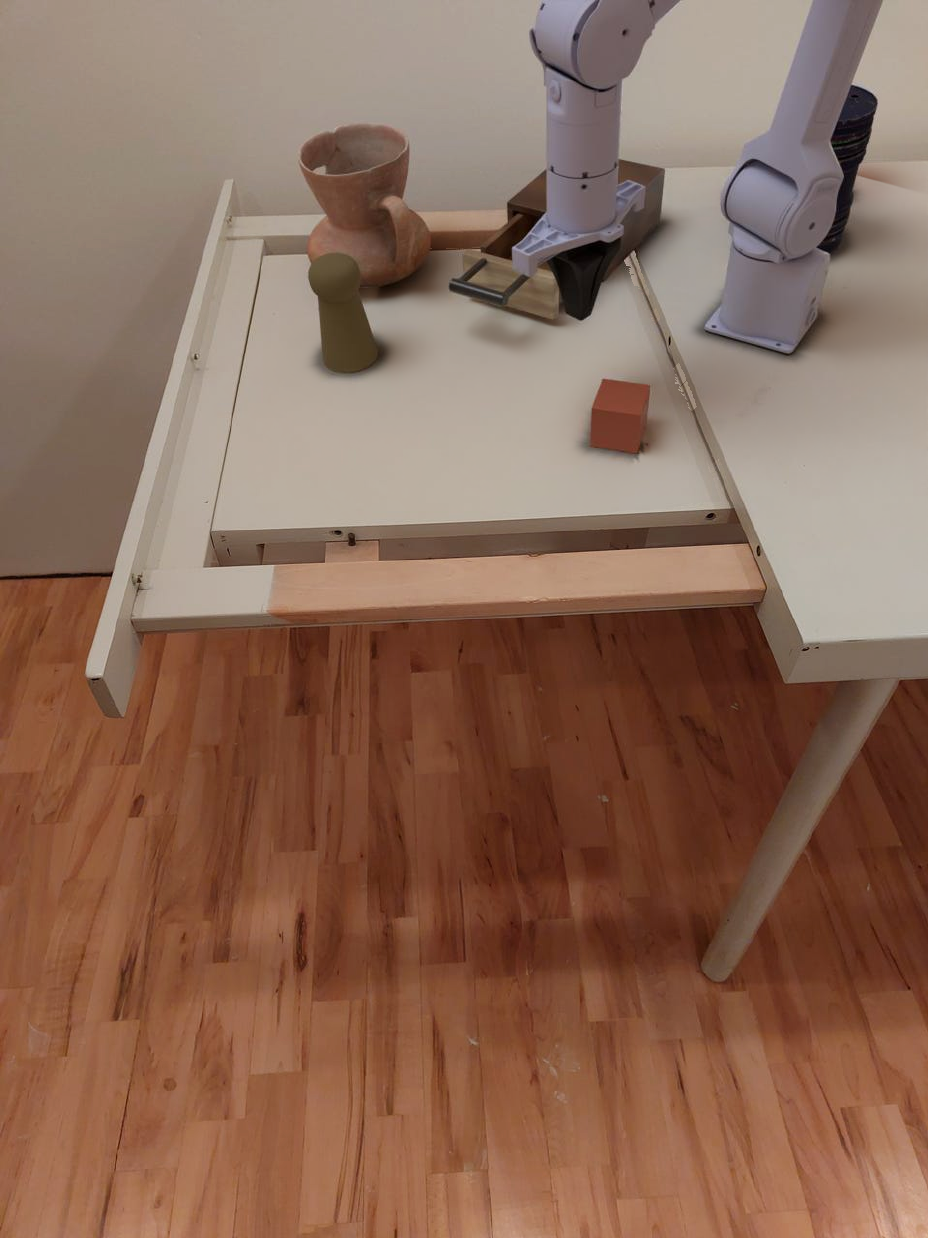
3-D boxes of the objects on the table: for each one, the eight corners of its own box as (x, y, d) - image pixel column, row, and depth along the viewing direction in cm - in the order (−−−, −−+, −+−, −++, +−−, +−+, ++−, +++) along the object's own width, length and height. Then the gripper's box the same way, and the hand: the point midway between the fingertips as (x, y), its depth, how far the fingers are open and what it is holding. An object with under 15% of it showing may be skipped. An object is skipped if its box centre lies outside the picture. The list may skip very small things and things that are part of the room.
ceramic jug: (288, 260, 110) (259, 139, 99) (390, 221, 114) (374, 101, 103) (357, 326, 100) (333, 200, 89) (466, 281, 104) (457, 155, 93)
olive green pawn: (370, 374, 94) (352, 278, 86) (315, 370, 95) (292, 275, 87) (384, 340, 98) (369, 244, 89) (331, 337, 99) (311, 242, 90)
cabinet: (603, 282, 102) (606, 226, 97) (508, 256, 107) (506, 201, 102) (660, 223, 109) (665, 168, 104) (569, 201, 114) (570, 148, 109)
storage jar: (774, 267, 101) (803, 127, 90) (740, 225, 107) (763, 90, 96) (858, 251, 102) (897, 111, 90) (819, 211, 108) (851, 75, 97)
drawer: (523, 350, 93) (522, 303, 89) (433, 321, 98) (428, 276, 94) (612, 259, 103) (615, 213, 99) (527, 237, 108) (526, 192, 103)
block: (646, 423, 86) (650, 384, 83) (637, 453, 84) (640, 415, 80) (600, 416, 87) (602, 377, 84) (589, 446, 85) (591, 407, 81)
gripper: (557, 213, 67) (556, 367, 77) (680, 142, 72) (663, 295, 83) (490, 185, 70) (498, 336, 81) (612, 119, 76) (605, 269, 86)
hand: (578, 313), depth 82 cm, fingers closed
